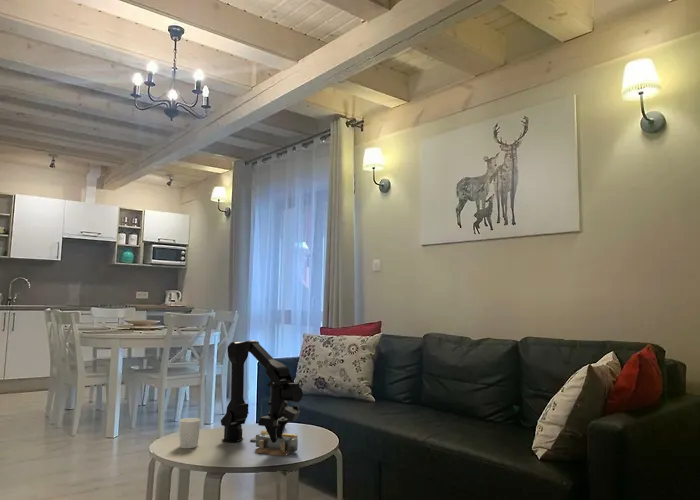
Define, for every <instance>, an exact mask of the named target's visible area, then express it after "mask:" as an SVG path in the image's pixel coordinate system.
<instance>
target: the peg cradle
mask: <svg viewBox="0 0 700 500" xmlns="http://www.w3.org/2000/svg"><path fill="white" fill-rule="evenodd" d="M290 452H291V453H293V452H292V451H286V450H285V443H281V448H280V450H278V449H270V448H264V440H260V441H259V447H256V448H255V454H264V455H271V456H278V455H279V456H278V457H285V455H286V454H287V455H289V454H291V453H290ZM288 453H289V454H288ZM287 455H286V456H287Z"/></svg>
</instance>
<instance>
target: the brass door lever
mask: <svg viewBox="0 0 700 500" xmlns="http://www.w3.org/2000/svg"><path fill="white" fill-rule="evenodd" d="M260 434H265V435H269V434H268V432H267V430H266V429H264V430H261V431H260ZM276 436H277V435H276ZM282 436H283V437H291V438H297V439H298V434H294V433H292V434H291V433H284V432H283V434H282Z"/></svg>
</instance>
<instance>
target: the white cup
mask: <svg viewBox="0 0 700 500" xmlns="http://www.w3.org/2000/svg"><path fill="white" fill-rule="evenodd" d="M200 428H201V418H198V417H186V418H185V417H184V418H181V419H179V435H178V436H179V448H181V449H194V448H197V447H198V445H199V439H200V431H201V429H200Z"/></svg>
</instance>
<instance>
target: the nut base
mask: <svg viewBox="0 0 700 500" xmlns="http://www.w3.org/2000/svg"><path fill="white" fill-rule="evenodd" d="M250 442H251V443H256V436H255V437H254V438H250Z"/></svg>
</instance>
